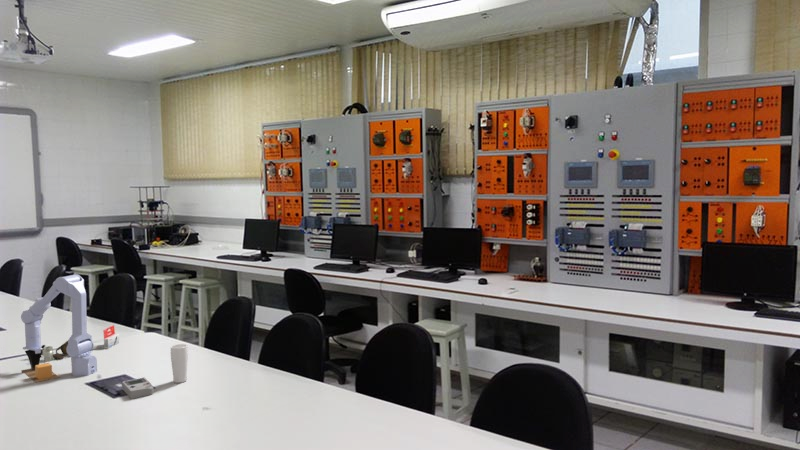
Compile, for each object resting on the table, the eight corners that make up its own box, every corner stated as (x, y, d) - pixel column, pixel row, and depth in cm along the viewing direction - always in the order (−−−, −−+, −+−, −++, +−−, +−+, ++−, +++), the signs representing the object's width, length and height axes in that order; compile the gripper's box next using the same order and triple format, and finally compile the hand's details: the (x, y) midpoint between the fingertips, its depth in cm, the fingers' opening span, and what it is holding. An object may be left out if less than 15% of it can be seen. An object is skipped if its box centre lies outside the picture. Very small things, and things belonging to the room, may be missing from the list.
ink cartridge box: (119, 343, 308) (118, 324, 307) (108, 349, 297) (107, 330, 296) (114, 343, 308) (113, 324, 307) (103, 349, 297) (102, 330, 296)
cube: (52, 376, 250) (51, 365, 249) (38, 379, 246) (38, 367, 246) (48, 374, 253) (48, 362, 253) (35, 376, 250) (35, 365, 249)
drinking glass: (191, 380, 246) (190, 345, 245) (176, 385, 241) (175, 349, 240) (184, 377, 251) (182, 343, 250) (168, 381, 246) (167, 346, 245)
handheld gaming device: (130, 400, 225) (130, 390, 225) (121, 390, 237) (121, 380, 237) (154, 395, 231) (154, 386, 231) (144, 385, 242) (144, 376, 242)
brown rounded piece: (85, 343, 288) (73, 336, 293) (60, 347, 277) (47, 340, 281) (82, 357, 289) (70, 350, 293) (57, 361, 277) (45, 354, 282)
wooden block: (60, 380, 248) (59, 363, 248) (36, 385, 242) (35, 368, 241) (44, 367, 265) (43, 352, 265) (21, 372, 259) (20, 357, 258)
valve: (58, 360, 279) (46, 355, 286) (57, 346, 278) (46, 342, 285) (43, 363, 273) (31, 359, 280) (42, 349, 273) (31, 345, 280)
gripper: (18, 335, 261) (20, 364, 262) (26, 340, 251) (28, 371, 252) (36, 332, 266) (38, 361, 267) (45, 337, 256) (46, 368, 257)
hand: (34, 366), depth 260 cm, fingers closed on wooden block, 2 cm apart
